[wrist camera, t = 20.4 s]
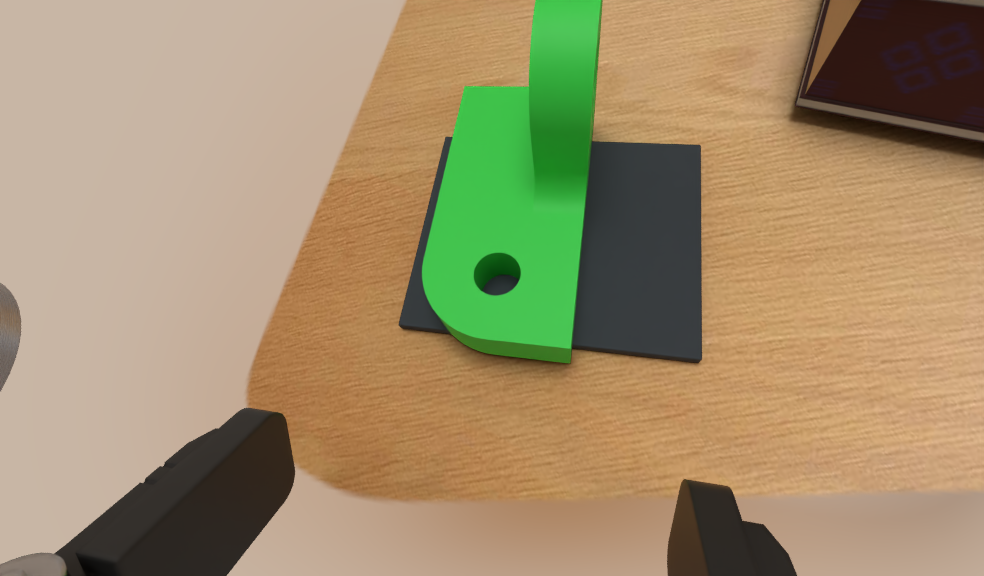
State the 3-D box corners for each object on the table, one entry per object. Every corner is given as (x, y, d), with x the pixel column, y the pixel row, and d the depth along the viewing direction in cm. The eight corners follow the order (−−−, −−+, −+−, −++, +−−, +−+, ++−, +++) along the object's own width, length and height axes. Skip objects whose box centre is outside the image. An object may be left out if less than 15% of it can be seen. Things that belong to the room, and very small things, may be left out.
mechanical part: (472, 117, 24) (431, -49, 17) (593, 119, 23) (606, -58, 15) (421, 346, 19) (334, 255, 12) (570, 363, 18) (572, 274, 11)
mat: (401, 328, 20) (397, 324, 20) (447, 142, 24) (445, 136, 24) (698, 363, 18) (702, 359, 17) (698, 151, 22) (700, 144, 21)
